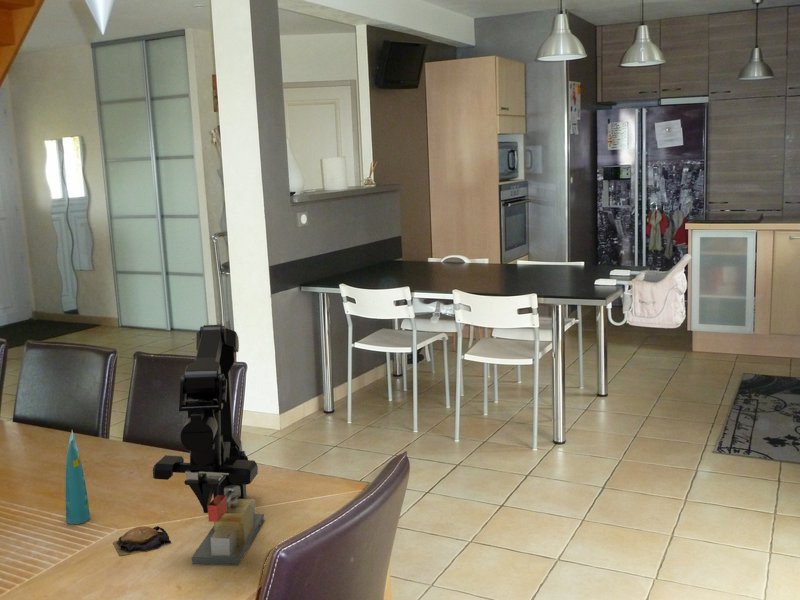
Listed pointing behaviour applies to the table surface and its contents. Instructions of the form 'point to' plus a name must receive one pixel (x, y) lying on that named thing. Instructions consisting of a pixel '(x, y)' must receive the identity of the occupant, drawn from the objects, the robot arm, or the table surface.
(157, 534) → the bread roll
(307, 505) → the table surface
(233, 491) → the valve lever
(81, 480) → the tube
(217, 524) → the valve stand
